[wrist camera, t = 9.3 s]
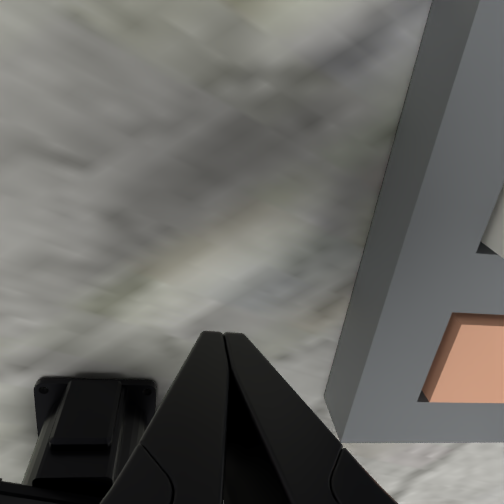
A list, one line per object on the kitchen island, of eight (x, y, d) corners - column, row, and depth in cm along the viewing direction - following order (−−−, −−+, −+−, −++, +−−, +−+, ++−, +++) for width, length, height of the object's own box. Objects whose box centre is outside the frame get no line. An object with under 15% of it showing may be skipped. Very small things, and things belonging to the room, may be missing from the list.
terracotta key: (481, 366, 27) (513, 403, 25) (405, 364, 26) (429, 402, 24) (513, 296, 25) (551, 328, 22) (431, 291, 24) (461, 324, 22)
